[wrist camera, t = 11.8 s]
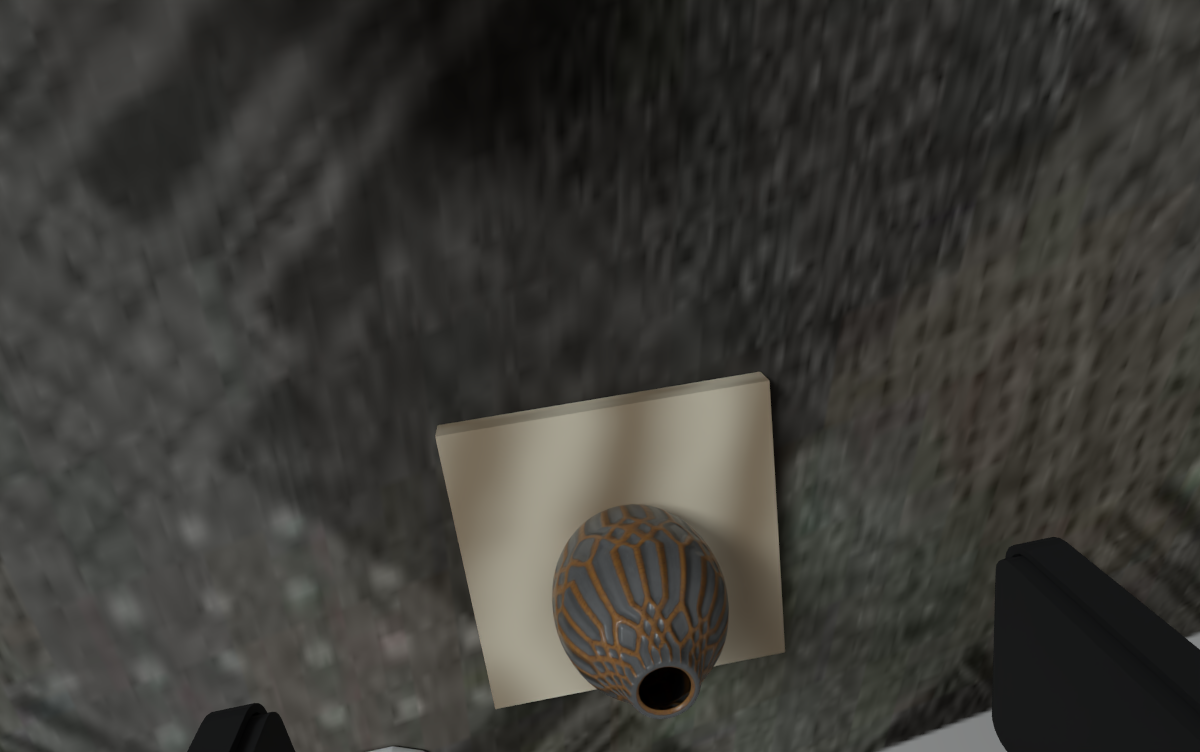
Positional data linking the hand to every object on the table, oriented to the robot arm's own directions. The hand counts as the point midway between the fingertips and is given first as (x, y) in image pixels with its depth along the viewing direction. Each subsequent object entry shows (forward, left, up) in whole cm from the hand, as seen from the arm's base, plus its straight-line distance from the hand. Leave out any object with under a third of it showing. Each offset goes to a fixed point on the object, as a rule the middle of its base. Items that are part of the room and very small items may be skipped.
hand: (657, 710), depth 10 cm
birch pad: (-2, +11, -22) cm, 25 cm away
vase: (-2, +11, -21) cm, 24 cm away
